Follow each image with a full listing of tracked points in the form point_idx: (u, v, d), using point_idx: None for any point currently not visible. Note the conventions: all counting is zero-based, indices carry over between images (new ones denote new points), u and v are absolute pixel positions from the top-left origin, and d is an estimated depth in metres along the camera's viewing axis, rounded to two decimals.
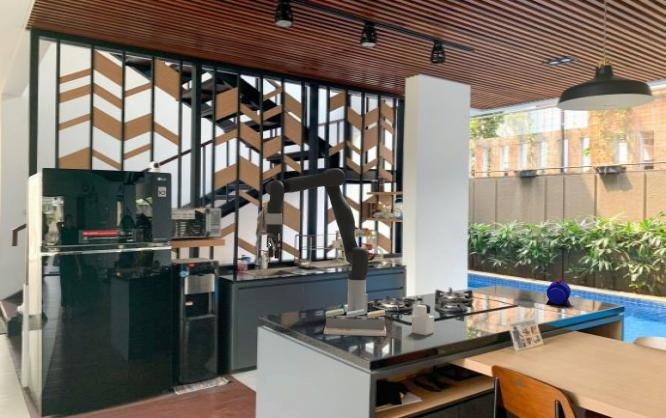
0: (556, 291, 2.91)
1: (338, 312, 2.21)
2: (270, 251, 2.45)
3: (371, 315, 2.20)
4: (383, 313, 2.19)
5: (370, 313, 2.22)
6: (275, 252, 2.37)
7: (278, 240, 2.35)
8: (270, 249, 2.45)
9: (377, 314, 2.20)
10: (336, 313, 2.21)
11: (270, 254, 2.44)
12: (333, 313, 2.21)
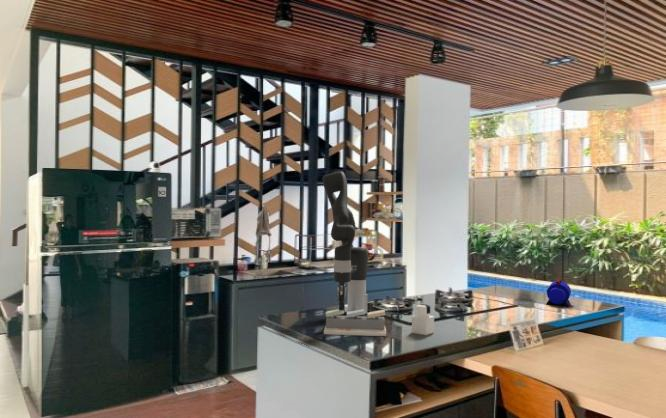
0: (556, 291, 2.91)
1: (338, 312, 2.21)
2: None
3: (371, 315, 2.20)
4: (383, 313, 2.19)
5: (370, 313, 2.22)
6: None
7: None
8: None
9: (377, 314, 2.20)
10: (336, 313, 2.21)
11: None
12: (333, 313, 2.21)
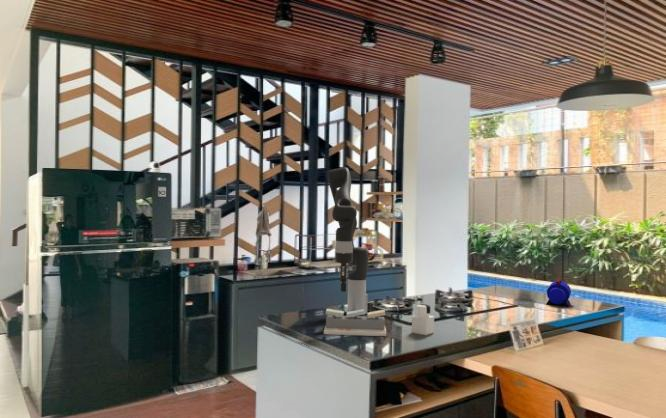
0: (556, 291, 2.91)
1: (338, 313, 2.21)
2: None
3: (371, 315, 2.20)
4: (383, 313, 2.19)
5: (370, 313, 2.22)
6: None
7: None
8: None
9: (377, 314, 2.20)
10: (336, 314, 2.21)
11: None
12: (334, 312, 2.21)
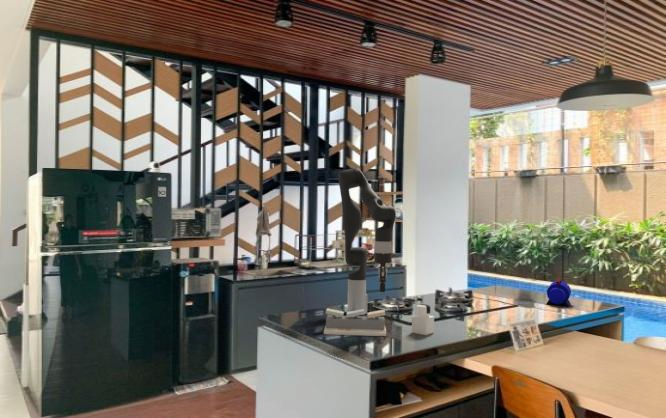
0: (556, 291, 2.91)
1: (338, 314, 2.21)
2: None
3: (371, 315, 2.20)
4: (383, 313, 2.19)
5: (370, 313, 2.22)
6: None
7: None
8: None
9: (377, 314, 2.20)
10: (336, 314, 2.21)
11: None
12: (334, 312, 2.21)
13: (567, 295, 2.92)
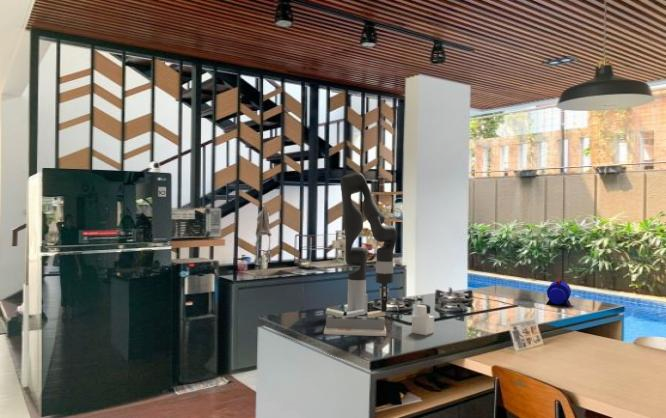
0: (556, 291, 2.91)
1: (338, 314, 2.21)
2: None
3: (371, 315, 2.20)
4: (383, 313, 2.19)
5: (370, 313, 2.22)
6: None
7: None
8: None
9: (377, 314, 2.20)
10: (336, 314, 2.21)
11: None
12: (334, 312, 2.21)
13: (567, 295, 2.92)
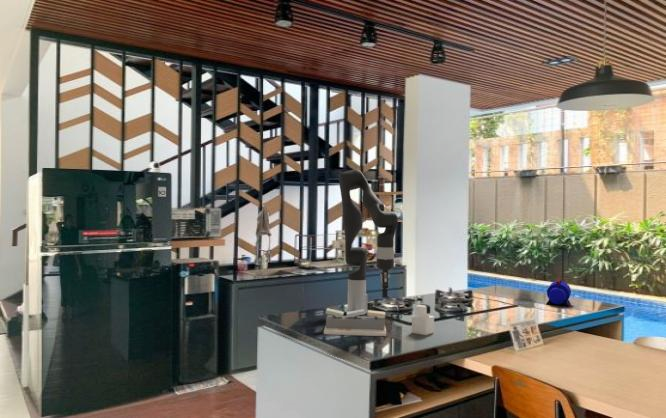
0: (556, 291, 2.91)
1: (338, 314, 2.21)
2: None
3: (371, 314, 2.20)
4: (383, 315, 2.19)
5: (370, 311, 2.22)
6: None
7: None
8: None
9: (377, 314, 2.20)
10: (336, 314, 2.21)
11: None
12: (334, 312, 2.21)
13: (567, 295, 2.92)
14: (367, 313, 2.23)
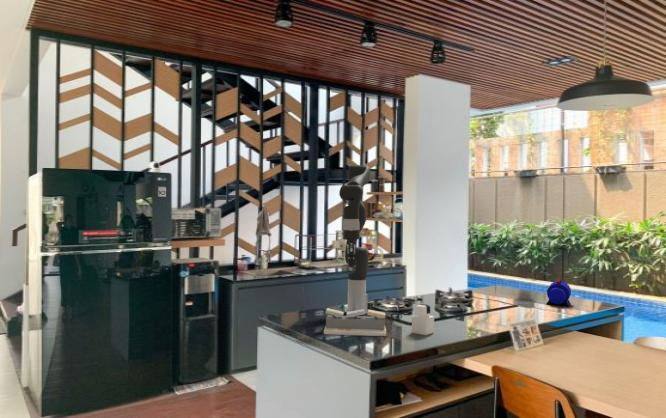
0: (556, 291, 2.91)
1: (338, 314, 2.21)
2: None
3: (371, 314, 2.20)
4: (383, 316, 2.19)
5: (371, 311, 2.22)
6: None
7: None
8: None
9: (377, 314, 2.20)
10: (336, 314, 2.21)
11: None
12: (334, 312, 2.21)
13: (567, 295, 2.92)
14: (367, 312, 2.23)
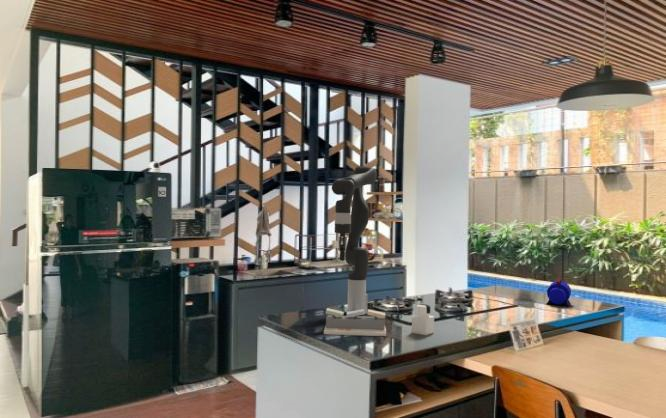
0: (556, 291, 2.91)
1: (338, 314, 2.21)
2: None
3: (371, 313, 2.20)
4: (383, 316, 2.19)
5: (371, 311, 2.22)
6: None
7: None
8: None
9: (377, 314, 2.20)
10: (336, 314, 2.21)
11: None
12: (334, 312, 2.21)
13: (567, 295, 2.92)
14: (367, 312, 2.23)
